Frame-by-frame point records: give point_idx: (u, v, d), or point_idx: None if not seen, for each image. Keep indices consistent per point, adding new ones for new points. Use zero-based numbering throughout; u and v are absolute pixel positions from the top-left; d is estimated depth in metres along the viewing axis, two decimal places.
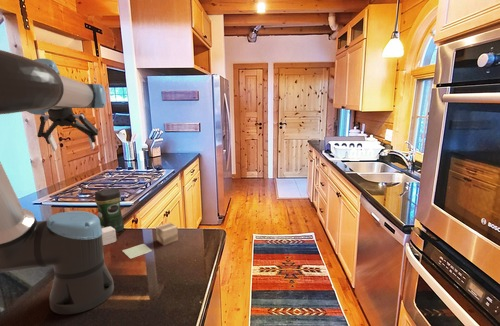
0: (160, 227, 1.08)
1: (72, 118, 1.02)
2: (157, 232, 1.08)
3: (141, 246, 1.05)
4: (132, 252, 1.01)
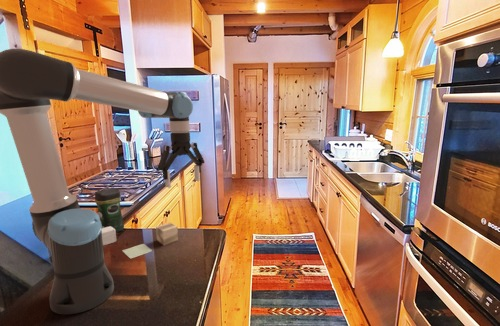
0: (160, 227, 1.08)
1: (189, 145, 1.13)
2: (157, 232, 1.08)
3: (141, 246, 1.05)
4: (132, 252, 1.01)
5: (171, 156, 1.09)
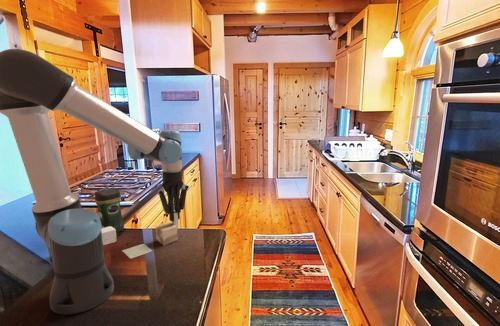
0: (159, 227, 1.08)
1: (182, 184, 1.10)
2: (157, 232, 1.08)
3: (141, 246, 1.05)
4: (132, 252, 1.01)
5: (169, 198, 1.08)
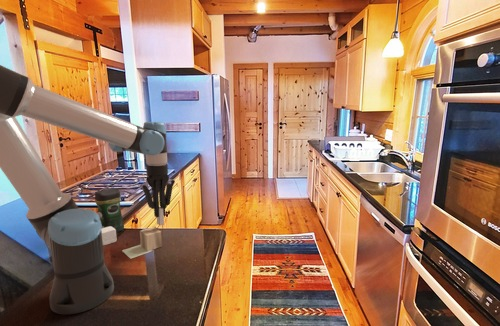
0: (142, 245, 1.04)
1: (167, 178, 1.05)
2: None
3: (141, 246, 1.05)
4: (132, 252, 1.01)
5: (153, 192, 1.03)
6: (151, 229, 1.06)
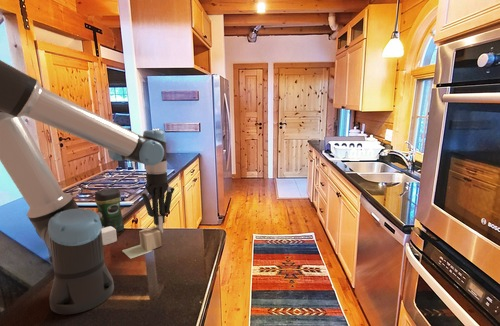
0: (142, 245, 1.04)
1: (167, 186, 1.06)
2: None
3: (141, 246, 1.05)
4: (132, 252, 1.01)
5: (153, 200, 1.03)
6: (151, 229, 1.06)
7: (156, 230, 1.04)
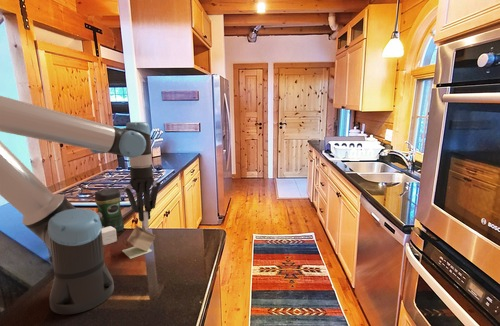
0: None
1: (152, 181, 1.01)
2: None
3: None
4: (132, 252, 1.01)
5: (137, 196, 0.99)
6: (135, 232, 1.01)
7: (139, 231, 1.00)
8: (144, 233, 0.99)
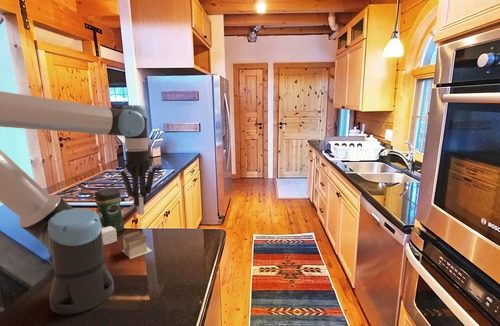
0: None
1: (148, 165, 1.00)
2: None
3: None
4: None
5: (133, 180, 0.98)
6: (125, 242, 0.99)
7: (127, 242, 0.97)
8: (132, 242, 0.97)
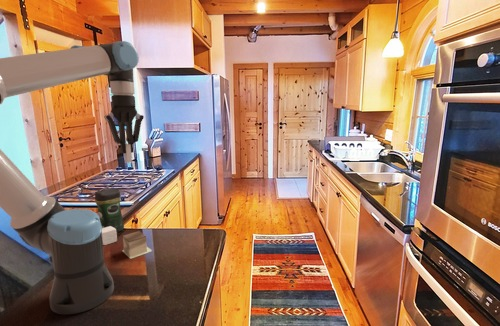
0: None
1: (135, 112, 0.99)
2: None
3: None
4: None
5: (119, 126, 0.97)
6: (125, 242, 0.99)
7: (127, 242, 0.97)
8: (132, 242, 0.97)
